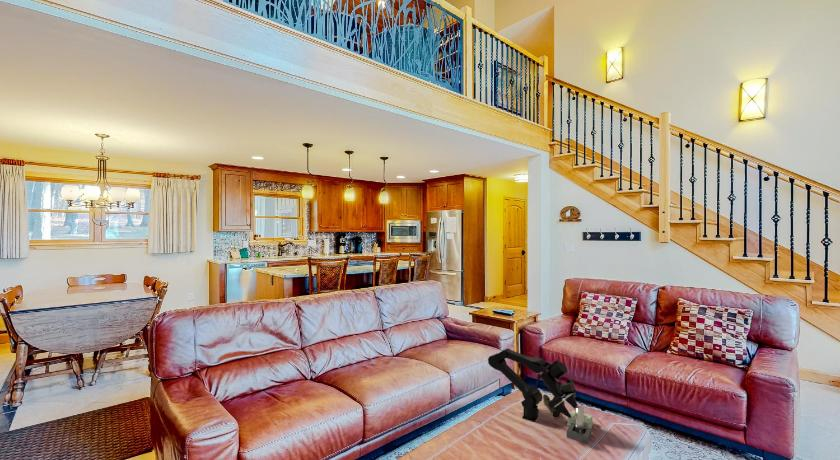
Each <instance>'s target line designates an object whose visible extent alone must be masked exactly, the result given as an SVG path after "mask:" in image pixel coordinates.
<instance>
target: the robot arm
mask: <svg viewBox="0 0 840 460" xmlns="http://www.w3.org/2000/svg"><path fill="white" fill-rule="evenodd" d="M506 359H508V360H511V361H513V362H515V363H519V364H521V365H523V366H525V367H527V368H528V369H529V370H530V371H532V372H533V373H535V374H537V377H536V381H539V380H541V381H542V382H543V383H544V385H545V386H546V387H547V391H548V392H550V393H551V395H552V396H553V397H552V399H550V401H549V402H548V405H549V407H550V408H553V407H554V408H553V409H555V410H557V411H559V412H561V414H562V415H564V416H565V417H567V418H568V417H569V418H571V415H570V414H571V412H569V410H568V408H567V407H566V405H565V401H566V403H568V404H569V405H570V406H571V408H573V409H574V410H575V407H576V406H579V404H578V402H577V400H576V394H577V392H576V391H577V389H576V387H575V385H576V383H575V382H574V381H573V380H572V379H571V378H568V379H566V382H562V381H560V380H559V381H558V380H557V379H560V378H562V377H563V376H564V375H566V374H567V373H568V368H567V366H566V364H564V363H563V362H561V361H559V360H558V359H556V360H555V361H553V363H550V362H547V361H546V360H545V359H544V358H541V357H534V356H533V357H532V356H528V355H525V354H524V353H523V354H522V353H520V352H518V351H514V350H512V349H511V348H505V349H502V350H501V351H500V352H498V353H494V354H492V355H490V356H489V357H487V364H488V366H489V367H491V368H493V369H494V370H497V371H498V372H501V374H503V375H504V377H506V378H507V379H508V380H509V382H511V383H512V384H513V386H515V388H517V390H519V391H520V392H521V394H522V396H523V400H522V401H521V402H520V403H521V406H522V407H523V410H522V411H523V414H522V416H521V418H522V419H525V420H527V421H532V422H536V421H537V420H538V419H539V417H540V416H539V415H540V414H539V413H540V411H539V410H540V409H539V408H538V407H539V404H540V403H541V402H542V400H543V393H542V392H541V390H540V389H539V388H537V386H536V385H534V384H532V385H529V384H528V383H527V382H526V381H524V380H523V378H522V377H520V376H519V375H518V374H517V373H516V372H515V371H514V370H513V368H511V367H510V366H509V365H508V363H507V361H506Z"/></svg>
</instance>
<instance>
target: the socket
mask: <svg viewBox="0 0 840 460" xmlns="http://www.w3.org/2000/svg"><path fill="white" fill-rule="evenodd" d="M592 434H593V427H591V428H588V427H585V426H584V434H582V433H579V432H575V424H574V423H571V424H570V426H569V427H568V428H567V430H566V438H567V439H570V440H574V441H576V442H580V443H583V444H587V445H588V444H589V442H590V440H591V437H592V436H593V435H592Z"/></svg>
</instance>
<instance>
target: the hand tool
mask: <svg viewBox="0 0 840 460" xmlns="http://www.w3.org/2000/svg"><path fill="white" fill-rule="evenodd" d="M542 400H543V404H544V406H546V407H547V409H548V410H549V411H550V413H551V414H552V417H553V418H554V417H558V418H560V417H561V414H562V413H561V412H559V411H557V410H555V409H553V408H554V407H553V408H550V407H549V405H548V402H549V401H551V398H550V397H549V395H548V394H546V393H545V394H542Z"/></svg>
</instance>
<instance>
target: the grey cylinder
mask: <svg viewBox="0 0 840 460" xmlns="http://www.w3.org/2000/svg"><path fill="white" fill-rule="evenodd" d="M574 411H575V432H579V433H582V434H584V414H585V408H584V407H583V406H579V405H578V406H576V407H575V409H574Z"/></svg>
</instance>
